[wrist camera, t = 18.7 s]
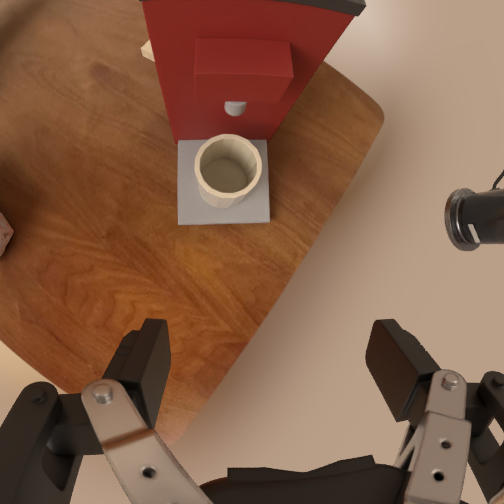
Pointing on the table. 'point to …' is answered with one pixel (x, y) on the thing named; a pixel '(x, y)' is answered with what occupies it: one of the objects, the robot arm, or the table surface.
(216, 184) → the cream cup
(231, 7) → the coffee maker
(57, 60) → the table surface
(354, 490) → the robot arm
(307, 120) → the table surface
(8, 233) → the food item
